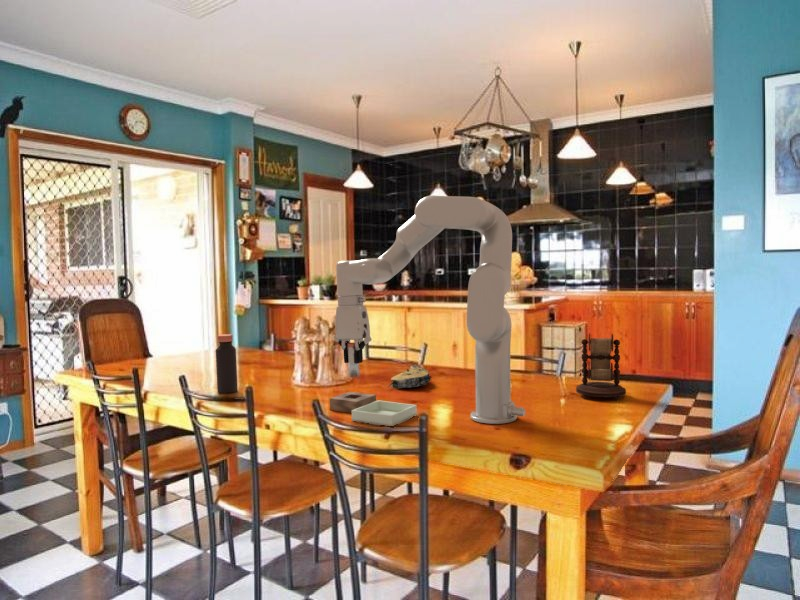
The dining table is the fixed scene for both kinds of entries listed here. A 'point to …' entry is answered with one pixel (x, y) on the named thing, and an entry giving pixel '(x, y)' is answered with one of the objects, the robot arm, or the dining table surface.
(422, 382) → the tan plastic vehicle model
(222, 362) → the bottle
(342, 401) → the block
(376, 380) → the dining table surface
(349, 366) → the pin
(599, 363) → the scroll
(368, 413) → the tray
